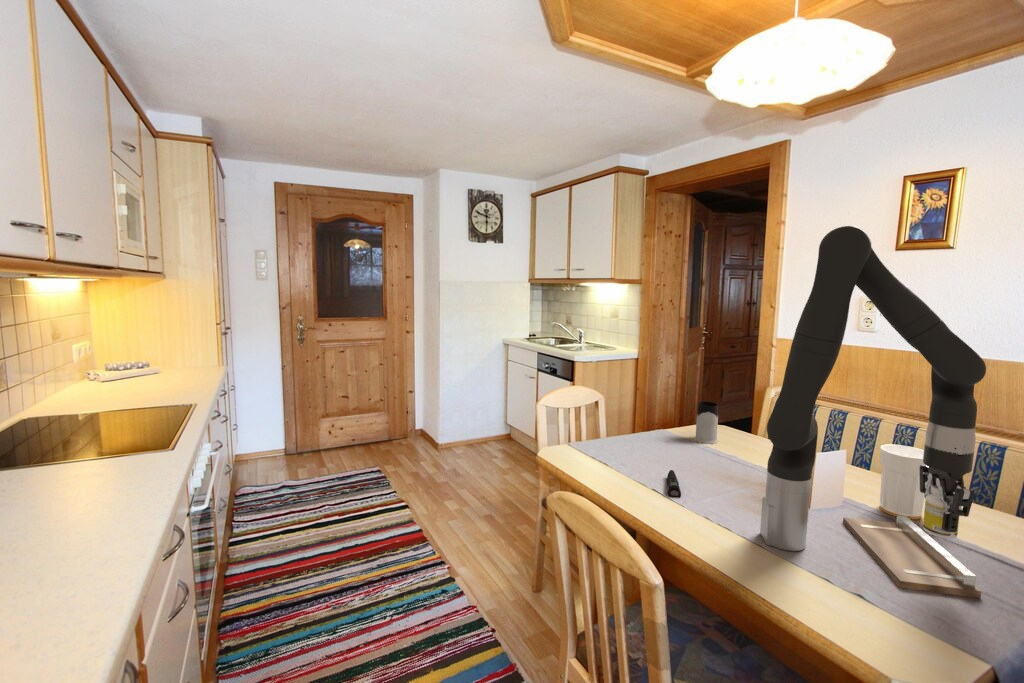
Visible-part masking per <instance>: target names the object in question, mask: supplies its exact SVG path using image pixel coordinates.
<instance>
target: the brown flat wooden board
mask: <svg viewBox="0 0 1024 683" xmlns="http://www.w3.org/2000/svg"><path fill="white" fill-rule="evenodd" d="M842 523H843V525H844V526H845V527H846V528H847V529H848V530H849V532H850V533H851V532H852V533H853V534H852V533H851V534H852V535H853V536H854V537H855V538H856V540H857V541H858V540H859V541H860V542H861V543H860V542H859V541H858V542H859V543H860V545H862V546H863V547H864V549H865V550H866V551H867V552H868V553H869V555H871V556H873V559H874V560H875V562H877V564H878V565H879V566H880V567H881V568H882V570H884V571H885V573H886V572H887V573H886V574H887V575H888V576H889V577H890V579H891V580H892V581H893V582H894V583H895V584H896V586H898V587H899V588H901V589H907V588H908V589H909V590H915V589H916V591H922V590H923V591H925V592H930V591H931V592H930V593H938V594H947V595H954V596H960V597H969V598H977V599H981V597H982V590H981V589H980V588H979V587H977V586H976V585H975V588H972V587H964V586H962V585H961V584H960V583H959V582H958V581H957V580H956V579H955V578H954V577H953V576H952V575H950V574H949V573H948V572H947V571H946V570H945V569H944V568H943V567H942V566H941V565H939V564H938V563H937V562H936V561H935V560H934V559H933V558H932V557H931V556H930V555H929V554H928V553H926V552H925V551H924V550H923V549H922V548H921V547H920V546H919V545H918V544H917V543H916V542H914V541H913V540H912V539H911V538H910V537H909V536H908V535H907V534H906V533H905V532H904V531H903V530H902V529H900V528H899V527H898V526H897V525H896V522H889V521H881V520H871V519H863V518H854V517H843V518H842Z"/></svg>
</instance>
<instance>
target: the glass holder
mask: <svg viewBox="0 0 1024 683" xmlns="http://www.w3.org/2000/svg"><path fill="white" fill-rule="evenodd" d="M718 412H719V404H718V403H716V402H712V401H699V402H697V412H696V413H697V414H696V425H695V427H696V428H695V436H694V441H695V442H698V443H700V444H705V445H715V444H718V442H719V440H718V425H719V424H718V423H719V422H718V420H719V415H718V414H719V413H718Z"/></svg>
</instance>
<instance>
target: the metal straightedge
mask: <svg viewBox="0 0 1024 683" xmlns="http://www.w3.org/2000/svg"><path fill="white" fill-rule="evenodd" d="M895 523H896V525H897V526H898V527H899V528H900V529H902V530H903V531H904V532H905V533H906V534H907V535H908V536H909V537H910V538H911V539H912V540H913V541H914V542H916V543H917V544H918V545H919V546H920V547H921V548H922V549H923V550H924V551H925V552H926V553H928V554H929V555H930V556H931V557H932V558H933V559H934V560H935V561H936V562H937V563H938V564H939V565H941V566H942V567H943V568H944V569H945V570H946V571H947V572H948V573H949V574H950V575H952V576H953V577H954V578H955V579H956V580H957V581H958V582H959V583H960V584H961V585H962V586H964V587H972V588H975V586H976V583H977V578H978V577H977V575H976V574H975V573H973V572H972V571H971V570H970V569H968V568H967V567H966V566H965V565H964V564H962V562H961V561H959V560H958V559H957V558H956V557H954V555H952V554H951V553H950V552H948V550H946V548H944V547H943V546H941V544H939V543H938V542H937V541H936V540H934V538H932V537H931V536H930V534H929V533H927V532H926V531H925V530H924V529H922V528H921V527H919V526H918V525H917V524H916V523H914V521H913V520H911V519H909V518H908V517H906V516H899V515H897V517H896V522H895Z"/></svg>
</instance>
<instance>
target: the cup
mask: <svg viewBox="0 0 1024 683" xmlns="http://www.w3.org/2000/svg"><path fill="white" fill-rule="evenodd" d="M879 455H880V457H879V464H880V465H881V478H880V480H881V481H880V495H879V496H880V497H879V506H878V507H879V510H880V511H882V512H884V513H885V514H887V513H888V515H889V516H890V515H891V516H892V515H893V516H892V517H895V516H897V515H899V516H906V517H908V518H909V519H910V520H911V519H912V520H918V519H921V518H922V515H923V514H922V513H923V509H924V507H923V506H924V504H925V502H924V501H925V497H924V493H921V492H920V465H925V464H924V463H923V455H924V449H921V448H917V447H913V446H908V445H903V444H902V445H901V444H883V445H880V454H879ZM926 483H927V482H926ZM926 483H925V485H926Z"/></svg>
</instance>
